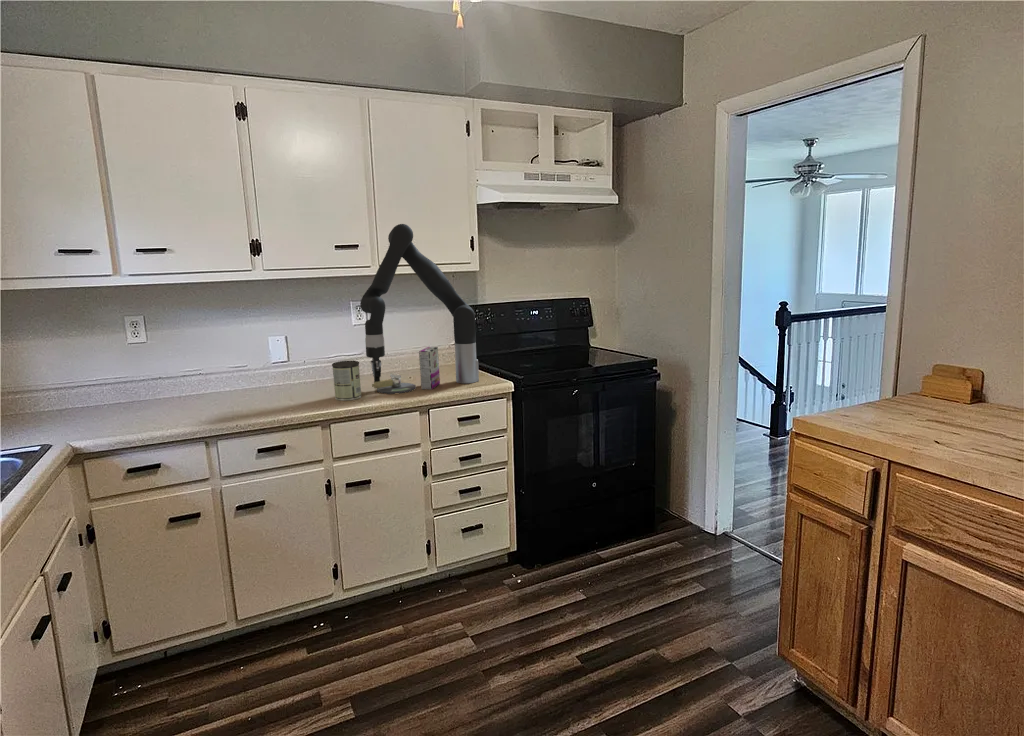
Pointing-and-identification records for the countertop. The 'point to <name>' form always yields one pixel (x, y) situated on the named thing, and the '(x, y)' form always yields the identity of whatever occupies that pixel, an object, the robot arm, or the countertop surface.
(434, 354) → the candy bar box
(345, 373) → the coffee can
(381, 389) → the dial plate
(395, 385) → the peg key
